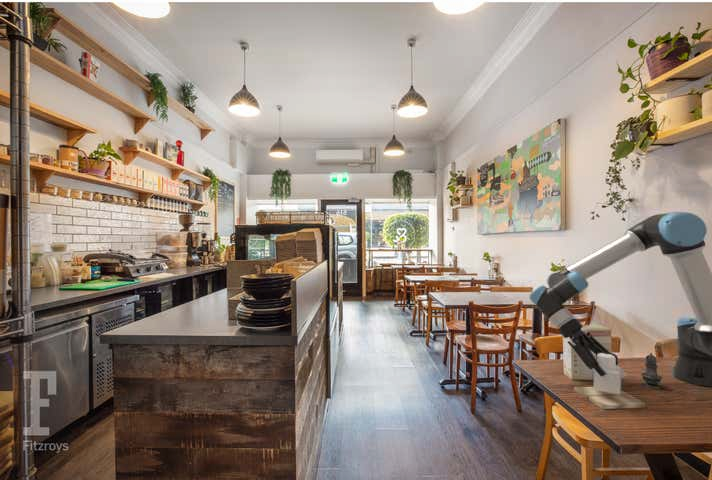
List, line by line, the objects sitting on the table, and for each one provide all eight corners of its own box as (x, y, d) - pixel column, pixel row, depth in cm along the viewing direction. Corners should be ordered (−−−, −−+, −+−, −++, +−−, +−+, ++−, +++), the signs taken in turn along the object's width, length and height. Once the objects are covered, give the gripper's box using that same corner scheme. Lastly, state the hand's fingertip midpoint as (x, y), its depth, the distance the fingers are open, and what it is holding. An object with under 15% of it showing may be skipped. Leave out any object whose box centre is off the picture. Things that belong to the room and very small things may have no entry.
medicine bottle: (595, 382, 126) (595, 348, 126) (621, 387, 121) (620, 352, 121) (593, 389, 120) (592, 353, 120) (619, 395, 116) (618, 358, 116)
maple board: (612, 389, 128) (612, 385, 128) (645, 407, 114) (645, 403, 114) (574, 390, 127) (574, 387, 127) (602, 409, 113) (602, 405, 113)
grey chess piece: (666, 389, 127) (665, 355, 127) (647, 388, 128) (646, 354, 128) (656, 383, 133) (655, 350, 133) (637, 382, 134) (637, 349, 134)
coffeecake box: (602, 373, 143) (601, 324, 143) (613, 380, 136) (612, 329, 136) (562, 373, 144) (561, 324, 144) (571, 380, 137) (570, 329, 137)
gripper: (571, 325, 139) (620, 378, 127) (544, 334, 127) (596, 394, 114) (585, 313, 135) (639, 367, 122) (560, 321, 122) (616, 383, 110)
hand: (618, 380), depth 118 cm, fingers closed on medicine bottle, 8 cm apart
